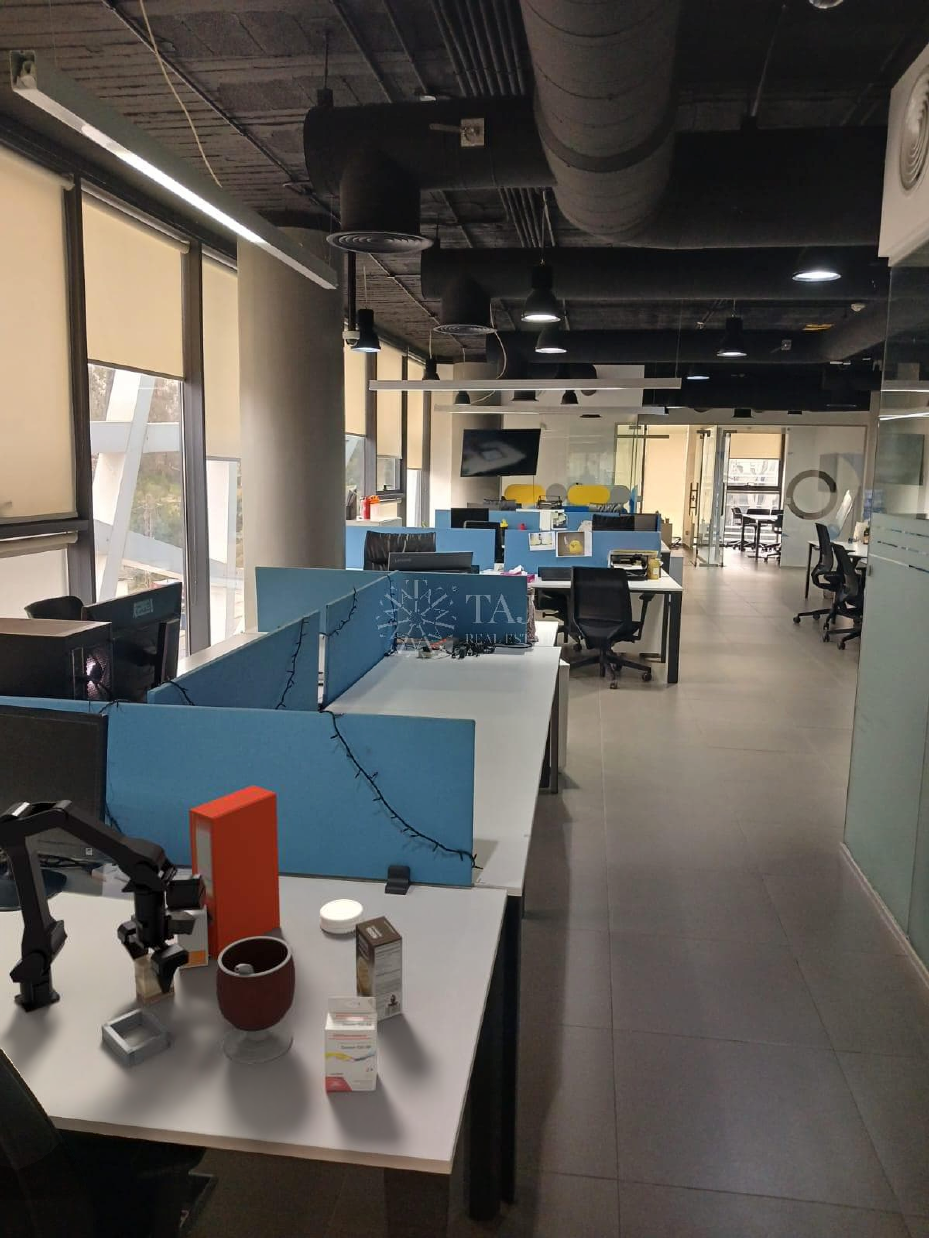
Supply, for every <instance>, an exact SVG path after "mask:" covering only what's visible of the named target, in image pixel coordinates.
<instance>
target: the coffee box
mask: <svg viewBox="0 0 929 1238" xmlns="http://www.w3.org/2000/svg"><path fill="white" fill-rule="evenodd" d="M355 926H356V930H355V972H356V973H355V974H356V975H355V977H356V978H355V981H356V984H355V985H356V987H355V988H356V989H355V990H356V997H374V998H375V999H376V1013H377V1022H381V1021H383V1020H386V1019H390V1018H391V1017H392V1018H393V1017H394V1016H397V1015H400V1014H403V936H402V935H401V934H400V933H399V931H397V929H396V928H395V927H394V926H393V925H392V924H391V922H390V921H389V919H387V918H386V916H385V915H383V916H379V917H376V918H372V919H368V920H364V921H363V922H362V923H358V924H356V925H355Z"/></svg>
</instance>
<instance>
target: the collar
mask: <svg viewBox="0 0 929 1238" xmlns="http://www.w3.org/2000/svg"><path fill="white" fill-rule="evenodd" d="M141 1024H142V1025H143V1026H144V1027H145V1028H146V1029H147V1030H148V1031H149V1032H150V1033H151V1034H152V1035H153V1036H154V1037H152V1038H150V1039H147V1040H146V1041H144V1042H141V1043H139V1044H138V1045H135V1046H133V1047H131V1046H130V1045H128V1043H127V1042H126V1041H125V1040H124V1039H123V1038H122V1037H121V1036H120V1035H119V1034H121V1033H124V1032H125V1031H128V1030H130V1029H132V1028H133V1027H136V1026H138V1025H141ZM172 1035H173V1034H172V1032H171V1031H170V1030H169V1029H168V1028H167V1027H166V1026H165V1025H164V1024H163V1023H162V1022H160V1020H158V1018H157V1017H156V1016H155V1015H154V1014H152V1013H151V1012H150V1011H149V1010H148V1009H147V1008H146V1007H145V1005H144V1006H143V1005H142V1006H141V1007H139V1008H136V1009H134V1010H132V1011H130V1012H127V1013H125V1014H123V1015H121V1016H119V1017H117V1018H114V1019H112V1020H110V1021H109V1022H106V1023H104V1024H102V1025H101V1036H102V1039H103V1040H104V1041H105V1042H106V1043H107V1044H108V1046H109V1047H110V1048H111V1049H112V1050H113V1051H114V1052H115V1053H116V1054H117V1056H119V1058H120V1059H122V1061H123V1062H125V1064H126V1065H127V1066H128V1067H131V1066H133V1065H135V1064H138V1063H139V1062H141V1061H144V1060H145V1059H147V1058H150V1057H151V1056H153V1055H156V1054H157V1053H160V1052H161V1051H164V1050H166V1049H168V1048H170V1047H172V1046H173V1037H172Z"/></svg>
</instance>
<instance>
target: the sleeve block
mask: <svg viewBox="0 0 929 1238" xmlns="http://www.w3.org/2000/svg"><path fill="white" fill-rule="evenodd" d="M153 953H154V951H153V952H150V953H149V954H147V955H145V956H143V957H140V958H138V959H135V960H134V962H133V965H134V977H135V978H134V979H135V981H134V982H135V994H136V995H135V996H136V998H137V999H138V1000H139V1001H140V1002H141V1003H142V1004H143V1005H144V1007H145V1006H149V1005H151V1004H153V1003H155V1002H157V1001H159V1000H162V999H164V998H167V997H168V996H171V995H173V994H175V991H176V990H175V976H174V977H173V980H172V983H171V987H170V990H169V992H168V993H166V994H163V993H162V991H161V989H160V987H159V985H158V983H157V981H156V979H155V977H154V975H153V972H152V970H151V967H152V966H151V963H150V957H151V956H152V954H153Z"/></svg>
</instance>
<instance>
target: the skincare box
mask: <svg viewBox="0 0 929 1238" xmlns="http://www.w3.org/2000/svg"><path fill="white" fill-rule="evenodd" d="M185 912H188V913H189V914H191V915H192V916H193V917H195V918H196V921H195V924H194V928H193V932H192V934H191V935H187V934H180V935H177V936H176V937H177V939H176V940H177V944H179V945H181V946H182V947H183V948H185V949H186V950H187V951H188V952H189V962H188V963H187V964H185V965H182V966H180V967H178V969H179V970H182V969H189V968H196V967H205V966H209V955H208V932H207V905H206V904H205V905H204V908H203V910H188V911H185Z"/></svg>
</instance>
